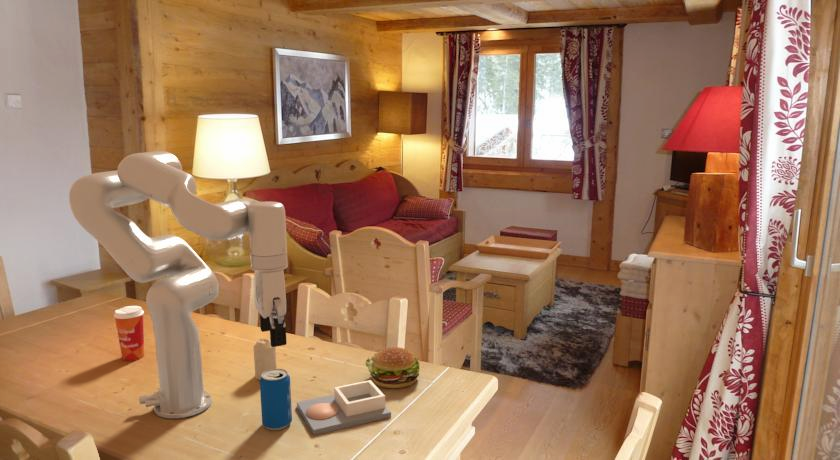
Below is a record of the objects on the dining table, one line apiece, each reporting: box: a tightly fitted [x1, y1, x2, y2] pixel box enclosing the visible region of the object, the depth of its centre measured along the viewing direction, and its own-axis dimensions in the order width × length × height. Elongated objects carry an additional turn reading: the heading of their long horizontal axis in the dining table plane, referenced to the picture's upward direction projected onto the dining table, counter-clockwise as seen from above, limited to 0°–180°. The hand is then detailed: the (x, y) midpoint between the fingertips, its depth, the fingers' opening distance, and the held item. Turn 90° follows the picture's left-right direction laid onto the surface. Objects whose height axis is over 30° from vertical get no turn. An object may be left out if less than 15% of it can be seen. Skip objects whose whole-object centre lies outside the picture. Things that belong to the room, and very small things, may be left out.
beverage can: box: [259, 368, 293, 431], centre depth 136 cm, size 6×6×12 cm
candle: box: [253, 338, 278, 381], centre depth 161 cm, size 6×6×10 cm
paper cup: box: [113, 305, 145, 362], centre depth 173 cm, size 8×8×14 cm
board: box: [296, 379, 392, 436], centre depth 143 cm, size 18×14×4 cm
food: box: [365, 346, 420, 389], centre depth 159 cm, size 14×14×8 cm
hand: (273, 337), depth 134 cm, fingers open, 9 cm apart
